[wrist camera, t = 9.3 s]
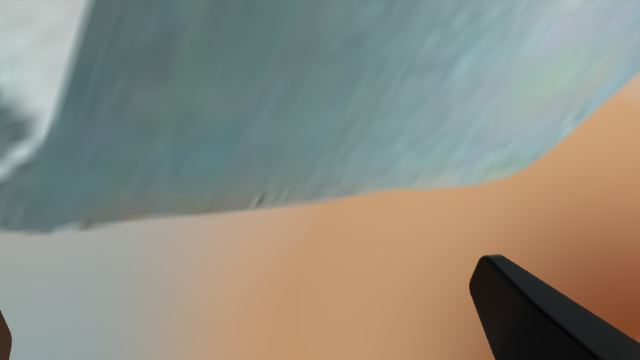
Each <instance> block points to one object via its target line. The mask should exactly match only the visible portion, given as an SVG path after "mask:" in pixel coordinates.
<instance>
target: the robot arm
mask: <svg viewBox="0 0 640 360" xmlns="http://www.w3.org/2000/svg"><path fill="white" fill-rule="evenodd" d="M469 289H470V294H471V297H472V299H473V302H474V304H475V307H476V310H477V313H478V315H479V318H480V321H481V324H482V326H483V329H484V332H485V334H486V337H487V340H488V342H489V345H490V348H491V350H492V353H493V355H494V358H495V360H640V343H639V342H637V341H636V340H634V339H633V338H631V337H630V336H628V335H626V334H625V333H623V332H622V331H620V330H618V329H617V328H615V327H614V326H612V325H611V324H609V323H607V322H606V321H605V320H603V319H601V318H600V317H598V316H596V315H595V314H593V313H592V312H590V311H589V310H587V309H586V308H584V307H583V306H581V305H579V304H578V303H576V302H575V301H573V300H572V299H570V298H568V297H567V296H565V295H564V294H562V293H561V292H559V291H558V290H556V289H554V288H553V287H551V286H550V285H548V284H546V283H545V282H543V281H542V280H540V279H539V278H537V277H535V276H534V275H532V274H531V273H529V272H528V271H526V270H525V269H523V268H522V267H520V266H518V265H517V264H515V263H514V262H512V261H510V260H509V259H507V258H506V257H504V256H502V255H498V254H495V255H485V256H482V257H481V258H480V259H479V261H478V263H477V265H476V268H475V270H474V272H473V275H472V277H471V279H470V283H469ZM11 346H12V337H11V333H10V330H9V328H8V326H7V324H6V322H5V319H4V317H3V315H2V313H1V311H0V360H9V357H10V351H11Z"/></svg>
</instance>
